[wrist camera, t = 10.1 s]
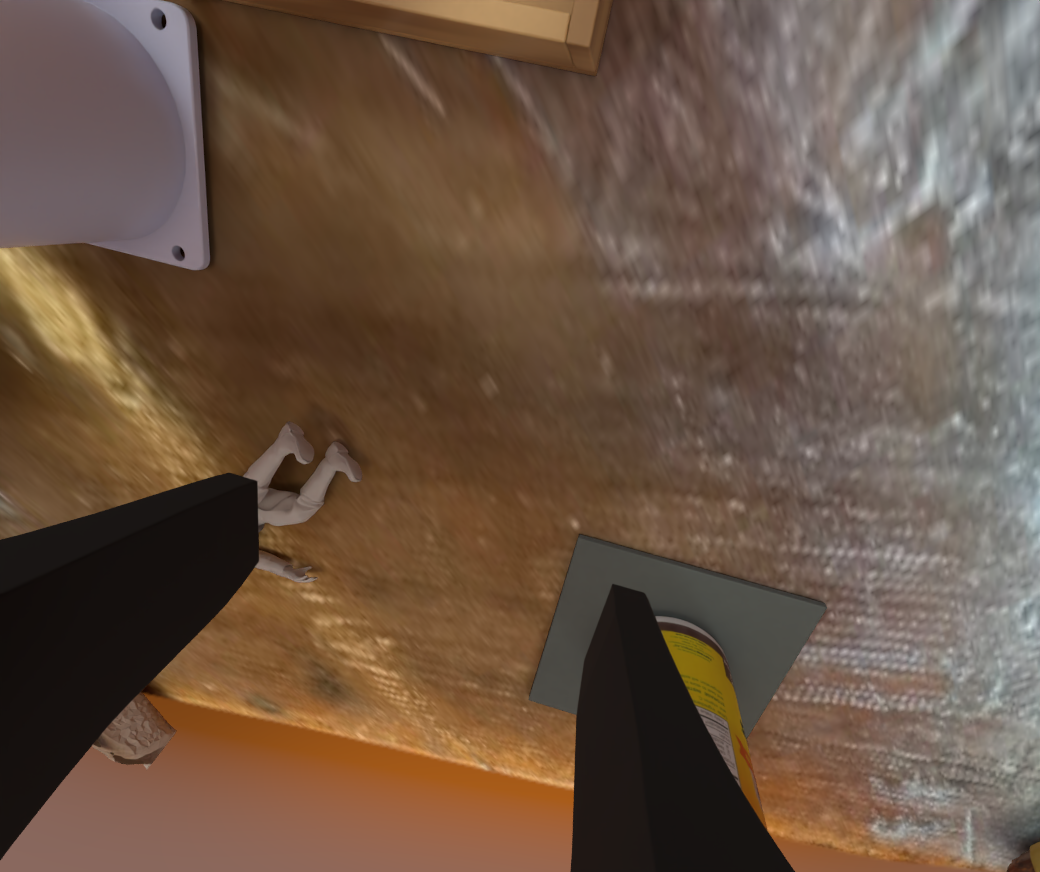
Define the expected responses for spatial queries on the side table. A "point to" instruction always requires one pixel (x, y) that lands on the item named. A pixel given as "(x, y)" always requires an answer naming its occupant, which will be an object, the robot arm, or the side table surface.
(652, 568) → the mat
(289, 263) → the side table surface
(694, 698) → the supplement bottle
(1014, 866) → the sauce bottle
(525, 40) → the wooden tray
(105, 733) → the bone fragment
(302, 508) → the soldier figure
